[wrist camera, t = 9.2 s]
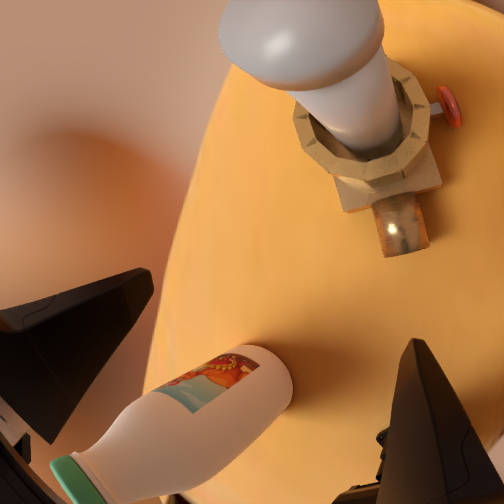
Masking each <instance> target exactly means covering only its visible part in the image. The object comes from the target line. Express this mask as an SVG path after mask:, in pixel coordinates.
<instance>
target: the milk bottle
mask: <svg viewBox="0 0 504 504" xmlns="http://www.w3.org/2000/svg"><path fill="white" fill-rule="evenodd" d="M292 393H293V384H292V379H291V376H290V373H289V371H288V370H287V368H286V366H285V365H284V363H283V362H282V361H281V360H280V359H279V358H278V357H277V356H276V355H275V354H273V353H272V352H270V351H269V350H267V349H265V348H262V347H259V346H255V345H241V346H237V347H235V348H233V349H231V350H229V351H227V352H225V353H223V354H221V355H220V356H218V357H216V358H214V359H212V360H210V361H208V362H207V363H205V364H203V365H201V366H199V367H197V368H195V369H193V370H191V371H189V372H187V373H186V374H184V375H182V376H180V377H178V378H176V379H174V380H172V381H170V382H168V383H166V384H164V385H162V386H160V387H158V388H156V389H155V390H153V391H151V392H149V393H147V394H145V395H143V396H142V397H140V398H139V399H137V400H136V401H134V402H133V403H131V404H130V405H129V406H128V407H127V408H125V410H124V411H123V412H121V414H120V415H119V416H118V417H117V419H116V420H115V421H114V423H113V424H112V425H111V427H110V428H109V429H108V431H107V432H106V433H105V435H104V436H103V437H102V438H101V439H100V440H99V441H98V442H97V443H95V444H94V445H93V446H92V447H91V448H89V449H88V450H87V451H84V452H82V453H77V452H73V453H72V454H71V455H69V456H68V455H65V456H62V457H59V458H57V459H55V460H53V461H51V462H50V467H51V469H52V471H53V473H54V475H55V477H56V478H57V480H58V481H59V483H60V485H61V486H62V488H63V489H64V491H65V492H66V493H67V495H68V496H69V497H70V499H71V500H72V502H73V503H74V504H130V503H133V502H136V501H139V500H143V499H147V498H151V497H157V496H163V495H170V494H175V493H180V492H184V491H187V490H190V489H192V488H195V487H197V486H199V485H201V484H203V483H204V482H206V481H208V480H209V479H211V478H212V477H213V476H215V475H216V474H217V473H218V472H220V471H221V470H222V469H224V468H225V467H226V466H227V465H228V464H230V463H231V462H232V461H233V460H234V459H235V458H236V457H238V456H239V455H240V454H241V453H242V452H243V451H244V450H245V449H246V448H247V447H249V446H250V445H251V444H252V443H253V442H254V441H255V440H256V439H257V438H258V437H259V436H260V435H261V434H262V433H263V432H264V431H265V430H266V429H267V428H268V427H269V426H270V425H271V424H272V423H273V422H274V421H275V420H276V419H277V418H278V417H279V416H280V415H281V413H282V412H283V411H284V410H285V409H286V408H287V406H288V405H289V403H290V401H291V398H292Z"/></svg>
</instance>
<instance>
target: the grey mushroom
mask: <svg viewBox="0 0 504 504" xmlns="http://www.w3.org/2000/svg"><path fill="white" fill-rule="evenodd" d="M383 36H384V19H383V16H382V13H381V10H380V7H379V4H378V1H377V0H230V1H229V3H228V4H227V6H226V8H225V10H224V12H223V14H222V17H221V19H220V23H219V29H218V39H219V44H220V47H221V49H222V51H223V53H224V54H225V56H226V57H227V58H228V59H229V60H230V61H231V62H232V63H234V64H235V65H236V66H238V67H239V68H241V69H242V70H244V71H245V72H246V73H248V74H249V75H251V76H252V77H253V78H255V79H256V80H258V81H259V82H261V83H262V84H265V85H267V86H269V87H272V88H275V89H279V90H285V91H286V92H287V93H289V94H290V95H291V96H292V97H293V98H294V99H295V100H297V101H298V102H299V103H300V104H301V105H302V106H303V107H304V108H305V109H306V110H308V111H309V112H310V113H311V114H312V115H313V116H314V117H315V118H316V119H317V120H318V121H319V122H320V123H321V124H322V125H323V126H324V127H325V128H326V129H327V130H328V131H329V132H330V133H331V134H332V135H333V136H334V137H335V138H336V139H337V140H338V141H339V142H340V143H341V144H342V145H343V146H344V147H345V148H346V149H347V150H348V151H349V152H351V153H352V154H354V155H356V156H358V157H360V158H364V159H378V158H382V157H384V156H386V155H388V154H390V153H391V152H392V151H393V150H394V149H395V148H396V147H397V145H398V144H399V142H400V139H401V136H402V123H401V118H400V113H399V108H398V103H397V99H396V94H395V90H394V86H393V82H392V78H391V74H390V70H389V67H388V63H387V60H386V56H385V53H384V50H383V47H382V44H381V43H382V40H383Z"/></svg>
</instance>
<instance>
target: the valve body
mask: <svg viewBox="0 0 504 504" xmlns="http://www.w3.org/2000/svg"><path fill="white" fill-rule="evenodd" d="M385 56H386V54H385ZM386 60H387V63H388V67H389V70H390V74H391V78H392V82H393V86H394V90H395V94H396V99H397V103H398V108H399V113H400V118H401V123H402V136H401V139H400V142H399V144H398V145H397V147H396V148H395V149H394V150H393V151H392V152H391V153H390V154H388V155H386V156H384V157H382V158H378V159H364V158H360V157H358V156H356V155H354V154H352V153H351V152H349V151H348V150H347V149H346V148H345V147H344V146H343V145H342V144H341V143H340V142H339V141H338V140H337V139H336V138H335V137H334V136H333V135H332V134H331V133H330V132H329V131H328V130H327V129H326V128H325V127H324V126H323V125H322V124H321V123H320V122H319V121H318V120H317V119H316V118H315V117H314V116H313V115H312V114H311V113H310V112H309V111H308V110H306V109H305V108H304V107H303V106H302V105H301V104H300V103H299V102H298V101H297V100H296V105H295V110H294V114H293V118H294V119H293V121H294V124H295V127H296V130H297V133H298V137H299V140H300V143H301V146H302V149H304V151H305V152H306V153H307V154H308V155H309V156H311V157H312V158H313V159H314V160H315V161H316V162H317V163H318V164H319V165H320V166H322V167H323V168H324V169H325V170H326V171H327V172H328V173H330V174H332V175H333V177H334V180H335V183H336V187H337V190H338V194H339V197H340V201H341V205H342V208H343V212H347V213H353V212H356V211H360V210H363V209H367V208H371V207H372V210H373V214H374V217H375V221H376V225H377V229H378V233H379V237H380V242H381V246H382V250H383V255H384V258H387V257H393V256H399V255H403V254H407V253H411V252H415V251H419V250H422V249H425V248H428V247H430V244H429V240H428V235H427V231H426V227H425V222H424V218H423V215H422V211H421V207H420V203H419V200H418V196H417V194H421V193H424V192H428V191H432V190H435V189H439V188H441V186H442V185H443V183H442V179H441V176H440V173H439V170H438V167H437V164H436V161H435V158H434V156H433V153H432V150H431V148H430V145H429V142H428V137H429V129H430V120H431V119H435V118H438V117H442V116H443V112H444V114H445V116H446V118H447V121H448V123H449V125H450V126H451V128H453V129H454V128H458V127H461V126H462V118H461V113H460V110H459V107H458V104H457V102H456V99H455V97H454V95H453V94H452V92H451V90H450V89H449V88H448V87H447V86H446V85H444V86H440V87H437V96H438V100H439V102H436V103H432V104H429V102H428V100H427V98H426V96H425V94H424V92H423V90H422V88H421V86H420V84H419V82H418V80H417V78H416V77H415V75H414V74H413V73H411V72H410V71H408V70H407V69H406V68H404V67H403V66H401V65H399V64H398V63H396V62H395V61H393V60H392V59H390V58H388V57H387V56H386ZM439 103H440V104H439ZM440 105H441V106H440Z"/></svg>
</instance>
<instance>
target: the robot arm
mask: <svg viewBox="0 0 504 504" xmlns="http://www.w3.org/2000/svg"><path fill="white" fill-rule="evenodd" d="M153 292H154V285H153V280H152V275H151V272H150V271H149V270H148V269H145V268H137V269H133V270H130V271H127V272H124V273H121V274H117V275H114V276H111V277H108V278H105V279H102V280H99V281H96V282H92V283H89V284H87V285H83V286H80V287H77V288H74V289H71V290H68V291H65V292H62V293H59V294H57V295H53V296H50V297H47V298H43V299H41V300H37V301H34V302H30V303H26V304H23V305H19V306H15V307H11V308H8V309H3V310H0V504H67V503H66V502H65V501H63V500H62V499H61V498H60V497H59V496H58V495H57V494H56V493H55V492H54V491H53V490H52V489H51V488H49V487H48V485H46V484H45V482H43V480H42V479H41V478H40V477H39V476H38V475H37V474H36V473H35V472H34V471H33V470H32V469H31V468H30V467H29V465H28V464H29V463H30V462H31V448H30V435H29V434H28V433H27V431H28V430H29V429H30V428H32V429H33V430H34V431H35V432H36V433H37V434H38V435H40V436H41V437H42V438H43V439H44V440H45V441H46V442H48V443H49V444H50V445H51V444H52V443H53V442H54V441H55V439H56V437H57V436H58V434H59V433H60V431H61V430H62V428H63V426H64V425H65V423H66V422H67V420H68V419H69V417H70V416H71V414H72V413H73V411H74V410H75V408H76V406H77V405H78V403H79V402H80V400H81V399H82V398H83V396H84V395H85V393H86V392H87V390H88V389H89V387H90V386H91V384H92V383H93V382H94V380H95V379H96V377H97V376H98V374H99V373H100V372H101V370H102V369H103V367H104V366H105V364H106V363H107V362H108V360H109V359H110V357H111V356H112V355H113V353H114V352H115V351H116V349H117V348H118V346H119V345H120V343H121V342H122V341H123V339H124V338H125V337H126V336H127V334H128V333H129V331H130V330H131V328H132V327H133V326H134V324H135V323H136V321H137V319H138V318H139V316H140V314H141V313H142V311H143V310H144V308H145V306H146V305H147V303H148V301H149V300H150V298H151V297H152V295H153ZM380 437H384V438H380ZM376 440H377V442H378V443H379V444H380V445H381V446H382V447H383V449H382V452H381V455H380V459H381V460H382V461H381V464H380V467H379V470H378V472H377V475H376V479H377V480H378V481H379V482H376V483H371V484H367V485H362V486H360V485H356V486H352V487H351V488H350V489H349V490H348V491H346V492H344V493H342V494H340V495H339V496H338V497H337V498H336V499H335V500H334V501H333V502H332V504H504V484H503V482H502V480H501V478H500V476H499V474H498V473H497V471H496V469H495V467H494V465H493V464H492V462H491V460H490V458H489V456H488V455H487V453H486V451H485V449H484V447H483V445H482V443H481V441H480V439H479V437H478V435H477V433H476V431H475V429H474V427H473V425H471V421H470V420H469V418H468V416H467V414H466V412H465V410H464V408H463V406H462V404H461V402H460V400H459V399H458V397H457V395H456V393H455V391H454V389H453V388H452V386H451V384H450V382H449V381H448V379H447V377H446V375H445V374H444V372H443V370H442V369H441V367H440V365H439V364H438V362H437V360H436V359H435V357H434V355H433V354H432V352H431V350H430V349H429V347H428V346H427V344H426V342H425V341H424V340H422V339H417V338H412V339H411V340H410V341H409V343H408V345H407V347H406V349H405V350H404V352H403V354H402V356H401V359H400V363H399V370H398V376H397V382H396V387H395V392H394V398H393V403H392V410H391V420H390V427H389V428H387V429H386V430H384V431H382V432H380V433H379V434H378V435H377V437H376Z"/></svg>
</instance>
